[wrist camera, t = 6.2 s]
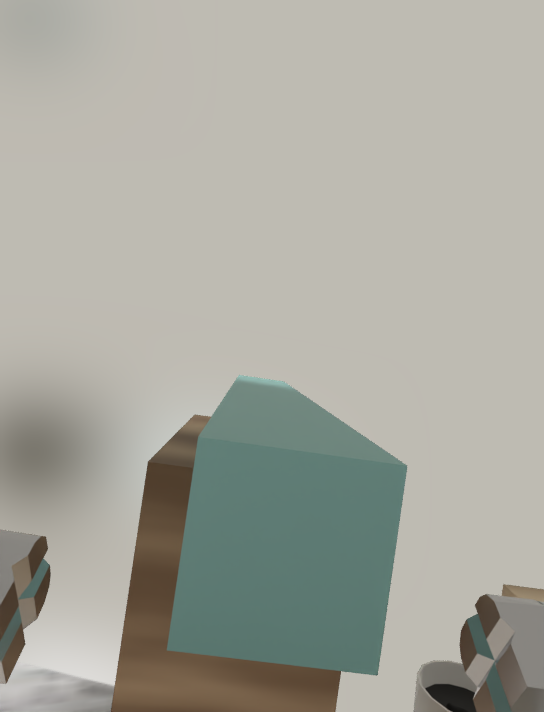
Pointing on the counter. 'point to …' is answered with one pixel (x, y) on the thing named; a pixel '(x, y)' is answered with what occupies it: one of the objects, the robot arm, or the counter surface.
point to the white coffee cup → (444, 688)
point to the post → (154, 612)
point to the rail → (286, 535)
